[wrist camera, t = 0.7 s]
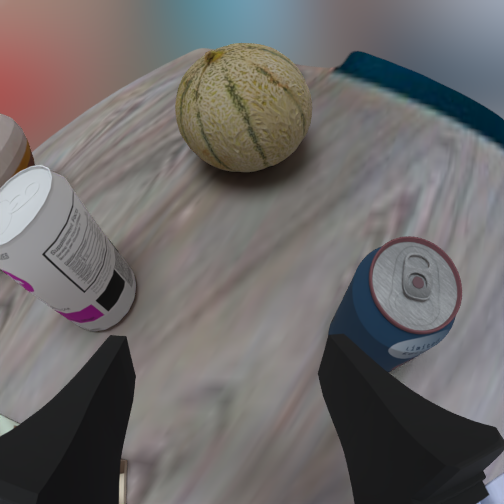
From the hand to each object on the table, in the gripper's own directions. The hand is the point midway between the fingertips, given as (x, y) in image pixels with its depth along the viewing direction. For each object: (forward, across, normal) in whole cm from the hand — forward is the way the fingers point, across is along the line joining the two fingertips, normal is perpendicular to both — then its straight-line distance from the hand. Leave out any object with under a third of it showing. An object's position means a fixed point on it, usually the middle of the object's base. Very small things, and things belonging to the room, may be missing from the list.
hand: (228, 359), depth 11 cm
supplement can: (+18, +12, +9) cm, 24 cm away
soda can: (+10, -12, +9) cm, 19 cm away
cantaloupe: (+31, -4, -3) cm, 32 cm away
